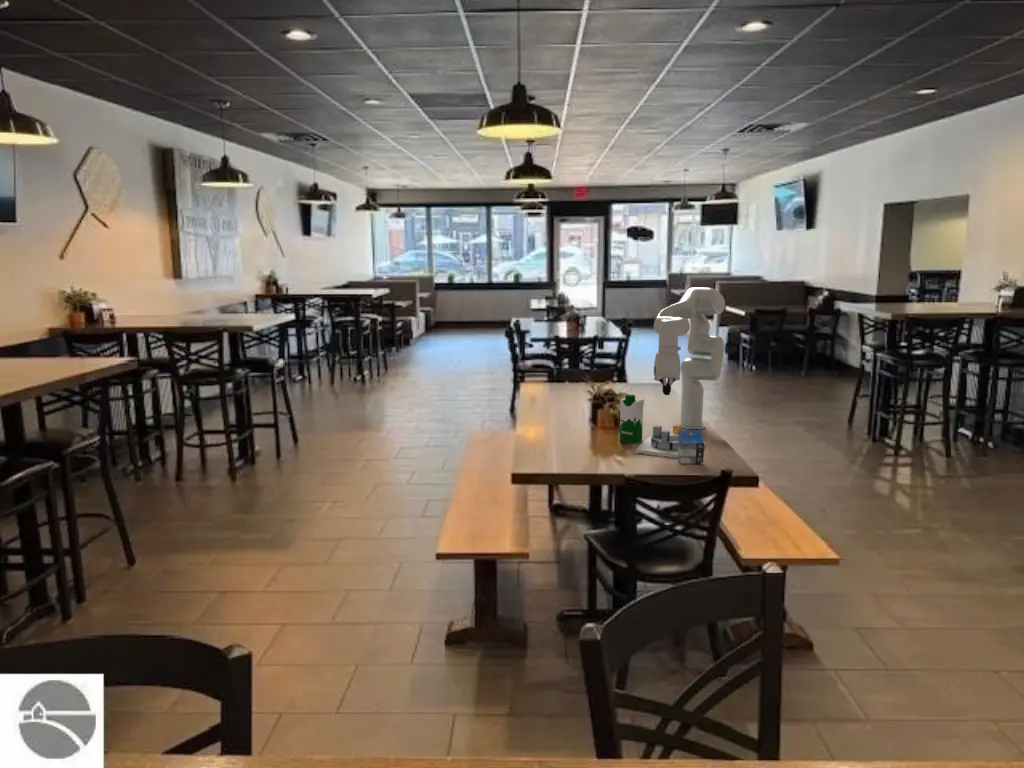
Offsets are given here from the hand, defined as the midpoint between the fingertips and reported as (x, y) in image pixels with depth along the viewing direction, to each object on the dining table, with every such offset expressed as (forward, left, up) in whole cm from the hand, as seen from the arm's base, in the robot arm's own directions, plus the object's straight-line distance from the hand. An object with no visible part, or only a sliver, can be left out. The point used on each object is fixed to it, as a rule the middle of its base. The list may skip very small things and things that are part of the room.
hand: (666, 394), depth 299 cm
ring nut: (+6, +4, -20) cm, 21 cm away
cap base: (+6, +4, -21) cm, 22 cm away
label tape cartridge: (+22, +15, -22) cm, 34 cm away
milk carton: (0, -14, -22) cm, 26 cm away
